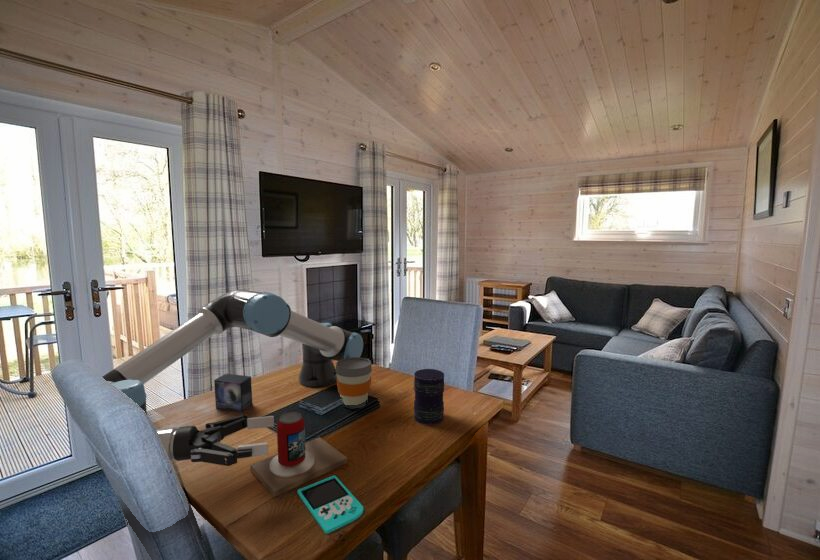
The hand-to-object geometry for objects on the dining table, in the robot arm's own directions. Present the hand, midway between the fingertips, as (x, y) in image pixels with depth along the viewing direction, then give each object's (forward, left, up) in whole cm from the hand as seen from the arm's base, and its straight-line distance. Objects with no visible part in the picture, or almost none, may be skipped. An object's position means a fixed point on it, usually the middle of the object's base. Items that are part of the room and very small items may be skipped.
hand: (271, 433), depth 99 cm
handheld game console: (-5, +19, -11) cm, 23 cm away
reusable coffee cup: (-38, -19, -11) cm, 44 cm away
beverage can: (-4, +2, -8) cm, 10 cm away
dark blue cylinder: (-50, +6, -11) cm, 52 cm away
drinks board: (-6, +2, -11) cm, 13 cm away
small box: (-6, -45, -11) cm, 47 cm away
